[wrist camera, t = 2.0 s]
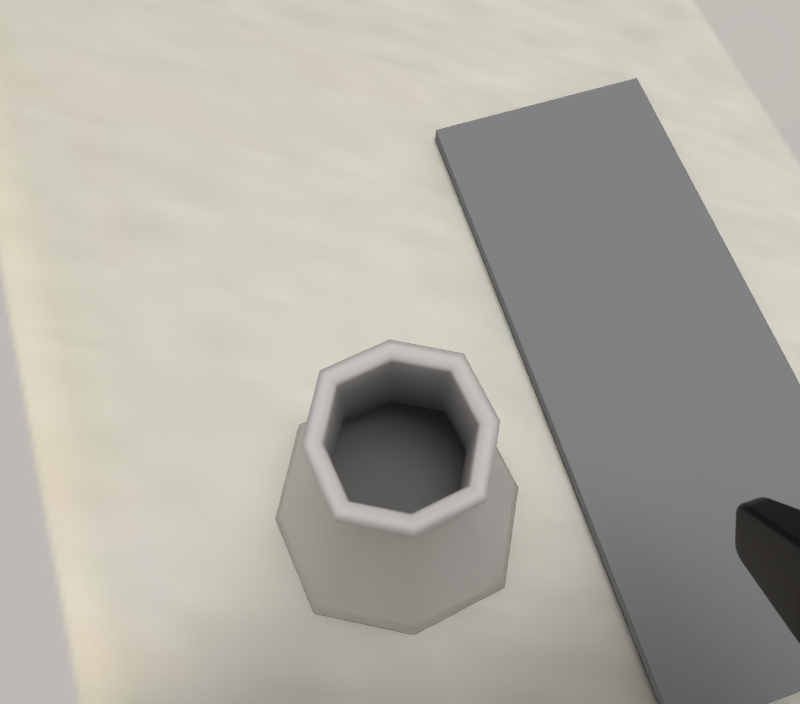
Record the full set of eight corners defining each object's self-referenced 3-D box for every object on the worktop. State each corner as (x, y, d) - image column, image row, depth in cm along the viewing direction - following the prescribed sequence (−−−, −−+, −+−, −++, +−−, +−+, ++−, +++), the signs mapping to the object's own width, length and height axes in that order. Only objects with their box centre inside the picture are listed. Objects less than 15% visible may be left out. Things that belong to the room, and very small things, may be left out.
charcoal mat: (922, 638, 19) (935, 640, 18) (670, 733, 18) (678, 737, 18) (632, 87, 25) (636, 77, 25) (435, 138, 24) (436, 130, 24)
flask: (495, 375, 21) (576, 210, 12) (539, 616, 19) (683, 647, 10) (269, 402, 21) (168, 254, 12) (285, 651, 19) (175, 719, 9)
